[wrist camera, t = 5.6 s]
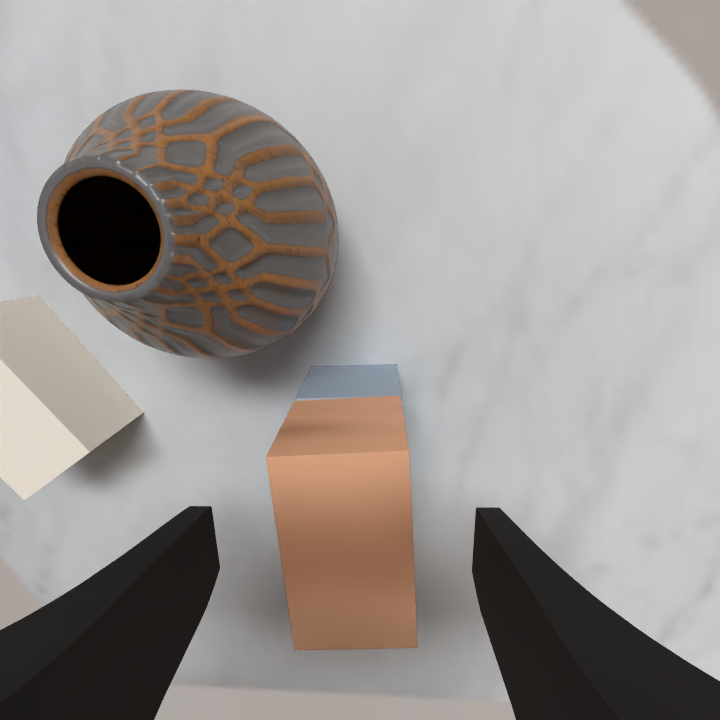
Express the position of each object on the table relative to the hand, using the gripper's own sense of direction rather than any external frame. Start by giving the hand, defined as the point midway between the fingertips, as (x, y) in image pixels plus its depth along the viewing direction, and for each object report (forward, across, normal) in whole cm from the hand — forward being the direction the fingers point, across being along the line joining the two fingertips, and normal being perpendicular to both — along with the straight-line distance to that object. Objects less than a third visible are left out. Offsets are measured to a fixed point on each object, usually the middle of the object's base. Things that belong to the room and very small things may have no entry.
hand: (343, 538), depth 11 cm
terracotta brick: (+3, 0, 0) cm, 3 cm away
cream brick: (+7, +12, -2) cm, 14 cm away
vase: (+7, +4, -8) cm, 11 cm away
